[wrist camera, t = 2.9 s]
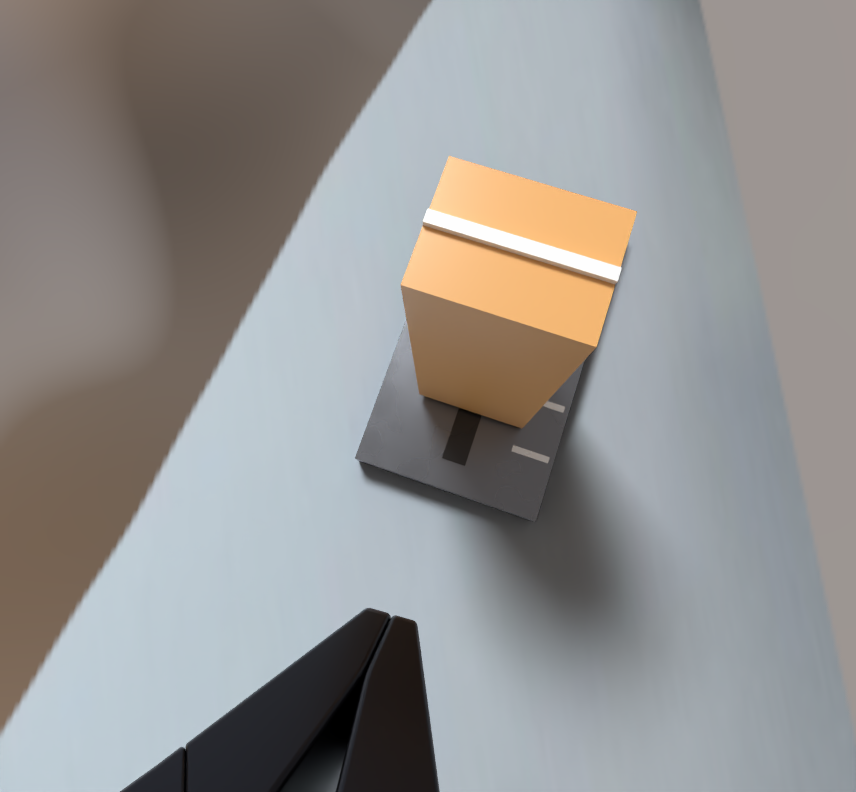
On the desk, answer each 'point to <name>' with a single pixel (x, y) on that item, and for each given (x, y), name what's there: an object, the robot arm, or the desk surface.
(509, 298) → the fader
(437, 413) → the plate
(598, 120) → the desk surface
